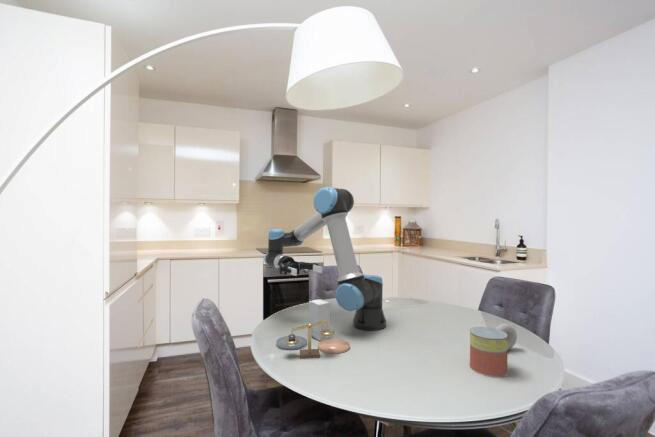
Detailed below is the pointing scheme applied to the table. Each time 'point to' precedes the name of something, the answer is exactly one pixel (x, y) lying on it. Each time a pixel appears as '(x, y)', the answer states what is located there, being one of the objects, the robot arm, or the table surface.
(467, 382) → the table surface
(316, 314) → the skincare box
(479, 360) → the canned food
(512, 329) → the donut
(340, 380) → the table surface
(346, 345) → the terracotta dish
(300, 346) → the slate dish
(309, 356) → the balance
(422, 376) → the table surface
